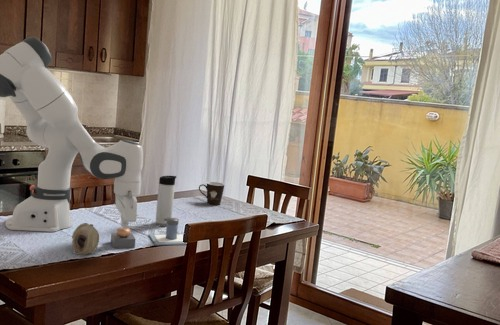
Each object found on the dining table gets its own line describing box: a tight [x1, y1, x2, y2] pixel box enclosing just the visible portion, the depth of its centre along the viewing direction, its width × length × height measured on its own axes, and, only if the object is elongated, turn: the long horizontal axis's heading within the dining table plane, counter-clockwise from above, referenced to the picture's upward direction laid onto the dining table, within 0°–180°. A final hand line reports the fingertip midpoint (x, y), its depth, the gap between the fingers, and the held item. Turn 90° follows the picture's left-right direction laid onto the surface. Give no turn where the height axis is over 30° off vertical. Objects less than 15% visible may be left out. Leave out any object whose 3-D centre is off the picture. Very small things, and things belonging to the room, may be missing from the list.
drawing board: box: [148, 233, 186, 246], centre depth 190 cm, size 14×11×1 cm
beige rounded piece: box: [71, 222, 100, 256], centre depth 167 cm, size 9×8×10 cm
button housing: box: [110, 232, 136, 249], centre depth 179 cm, size 7×7×3 cm
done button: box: [116, 227, 131, 237], centre depth 179 cm, size 4×4×5 cm
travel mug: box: [155, 175, 177, 227], centre depth 207 cm, size 6×7×20 cm
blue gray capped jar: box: [165, 217, 180, 240], centre depth 189 cm, size 4×4×7 cm
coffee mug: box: [198, 181, 225, 206], centre depth 253 cm, size 12×9×10 cm
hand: (124, 227), depth 178 cm, fingers closed
